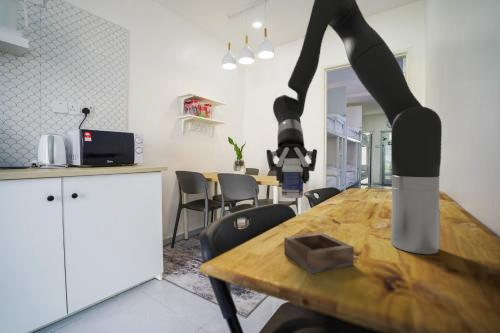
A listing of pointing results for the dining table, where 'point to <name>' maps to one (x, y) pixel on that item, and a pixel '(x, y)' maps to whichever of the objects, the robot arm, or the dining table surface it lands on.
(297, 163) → the pill bottle
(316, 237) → the square tray
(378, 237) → the dining table surface
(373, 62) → the robot arm
